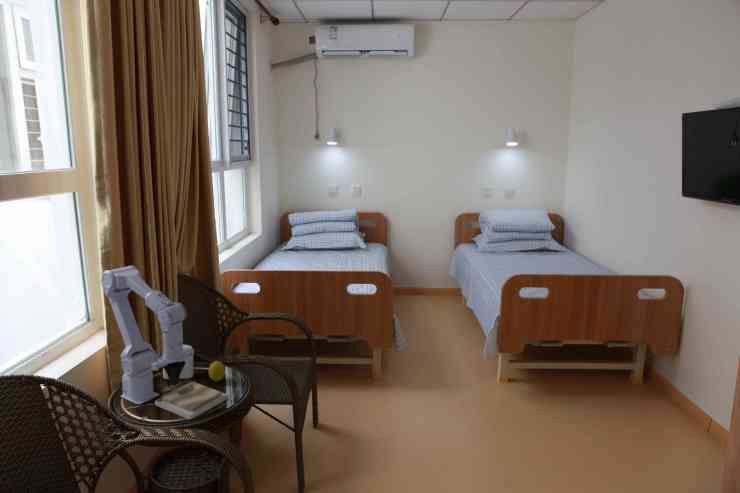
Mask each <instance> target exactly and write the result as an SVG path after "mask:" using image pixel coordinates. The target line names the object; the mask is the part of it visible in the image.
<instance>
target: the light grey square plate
mask: <svg viewBox="0 0 740 493" xmlns="http://www.w3.org/2000/svg"><path fill="white" fill-rule="evenodd" d="M193 382H195V383H197V381H195V380H194V381H193ZM228 398H229V395H228V394H227V393H224V392H222V395H221V396H219V397H217V398H215V399H213V400H212V401H210V402H208V403H206V404H204V405H202V406H201V407H199V408H197V409H195V410H193V411H191V410H188V409H186V408H183V407H181V406H178V405H176V404H173V403H171V402H168V401H166V400H163V399H162V398H161V397H159V398H157V399H156V400H154V403H155V404H154V406H156V407H159V408H161V409H164V410H165V411H168V412H171V413H173V414H175V415H177V416H180V417H183V418H184V419H187V420H190V419H191V420H192V419H195V418H196V417H197V416H198V417H199V415H201V414H203V413H205V412H206V411H209V410H210V409H212V408H214V407H216V406H218V405H220V404H221V403H222V402H224V401H226V400H228Z"/></svg>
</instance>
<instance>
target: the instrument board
mask: <svg viewBox="0 0 740 493" xmlns="http://www.w3.org/2000/svg"><path fill="white" fill-rule="evenodd" d="M222 393H223V392H222V391H219V390H217V389H214V388H211V387H208V386H205V385H203V384H200V383H197V382H196V383H195V382H194V381H190V382H188V383H185V384H184V385H181V386H179V387H177V388H175V389H174V390H171V391H169V392H166V393H165V394H162V395H160V396H161V397H160V398H162V399H163V400H166V401H168V402H171V403H173V404H176V405H178V406H181V407H183V408H186V409H188V410H191V411H193V410H195V409H197V408H199V407H201V406H202V405H204V404H206V403H208V402H210V401H212V400H213V399H215V398H217V397H219V396H221V395H222Z"/></svg>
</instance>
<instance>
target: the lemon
mask: <svg viewBox="0 0 740 493" xmlns="http://www.w3.org/2000/svg"><path fill="white" fill-rule="evenodd" d="M225 373H226V369H225V366H224V364H223V362H222V361H218V360H215V361H214V362H212V363H211V364H210V366H209V368H208V375H209V376H208V377H209V378H210V379H211V380H212V381H215V383H218V382H220V381H221V380H223V378H224V377H225Z"/></svg>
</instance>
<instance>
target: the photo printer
mask: <svg viewBox="0 0 740 493" xmlns="http://www.w3.org/2000/svg"><path fill="white" fill-rule="evenodd" d="M188 348H191V349H193V347H192V346H191V345H188V344H183V350H185V349H188ZM184 361H185V366H184V367H183V369H182V371H181V374H180V377H179V380H180V379H191V378H193V377H194V355H192V356H187V357H185V358H184ZM162 374H163V375H162V376H163V379H164V380H169V378H168V375H167V373H166V371H165V370H164V368H163V367H162Z"/></svg>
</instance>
